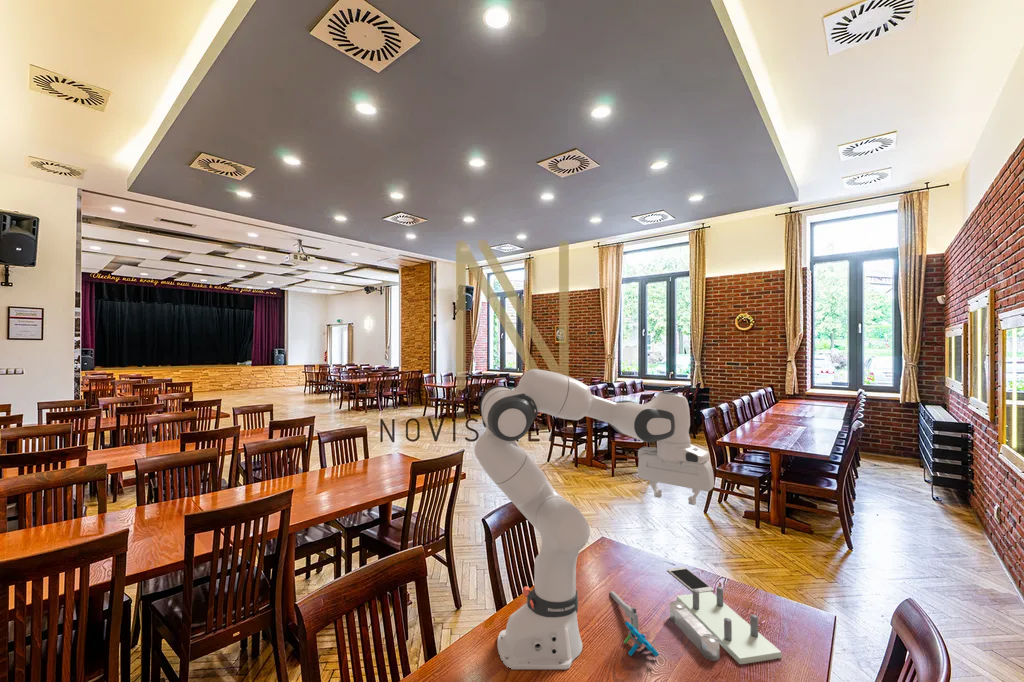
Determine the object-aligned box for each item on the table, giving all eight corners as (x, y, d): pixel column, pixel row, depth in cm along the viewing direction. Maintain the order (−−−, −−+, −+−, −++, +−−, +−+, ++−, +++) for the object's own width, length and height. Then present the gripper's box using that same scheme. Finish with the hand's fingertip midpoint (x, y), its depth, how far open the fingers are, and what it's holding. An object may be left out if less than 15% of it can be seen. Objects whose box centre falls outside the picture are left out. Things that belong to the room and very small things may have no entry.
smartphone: (695, 595, 139) (695, 592, 139) (666, 571, 154) (666, 568, 154) (714, 592, 141) (714, 589, 141) (684, 569, 156) (684, 566, 156)
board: (739, 664, 108) (739, 638, 108) (676, 600, 135) (676, 579, 136) (781, 657, 110) (781, 632, 110) (711, 596, 138) (710, 575, 138)
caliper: (638, 634, 120) (638, 611, 120) (634, 635, 120) (634, 611, 120) (612, 593, 140) (612, 573, 140) (609, 593, 140) (609, 573, 140)
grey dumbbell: (708, 661, 109) (708, 645, 109) (667, 615, 128) (666, 602, 128) (723, 659, 110) (723, 643, 110) (679, 614, 129) (679, 600, 129)
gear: (667, 659, 107) (638, 631, 108) (652, 680, 106) (623, 651, 106) (647, 636, 118) (621, 611, 118) (634, 655, 117) (607, 629, 117)
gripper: (633, 447, 125) (634, 495, 125) (708, 458, 112) (709, 512, 112) (642, 443, 130) (643, 490, 130) (715, 453, 117) (716, 505, 116)
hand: (674, 500), depth 120 cm, fingers open, 8 cm apart
